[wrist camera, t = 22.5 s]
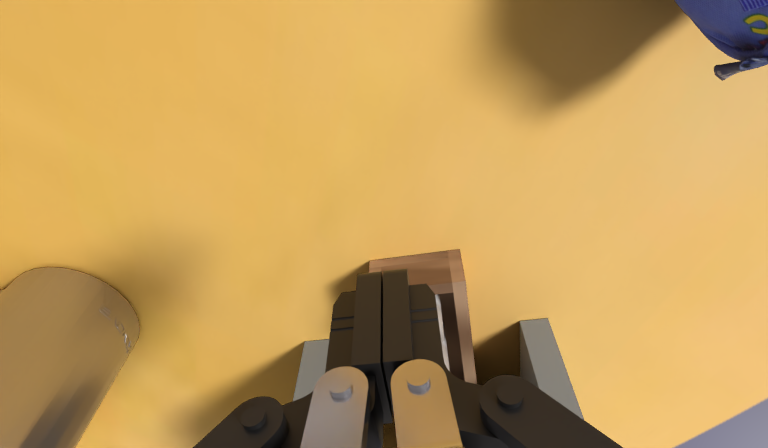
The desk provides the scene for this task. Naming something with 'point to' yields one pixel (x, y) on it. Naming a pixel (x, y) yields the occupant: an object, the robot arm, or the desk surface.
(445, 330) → the tray
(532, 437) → the robot arm
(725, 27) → the pencil case
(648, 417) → the desk surface
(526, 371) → the grey bridge block
